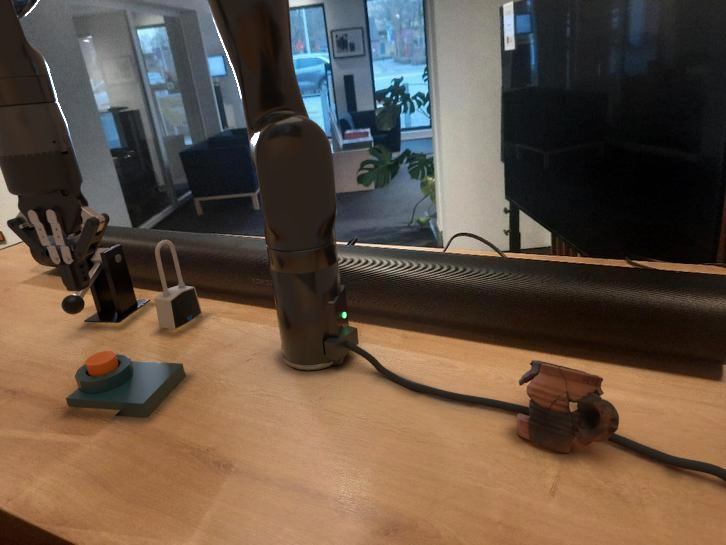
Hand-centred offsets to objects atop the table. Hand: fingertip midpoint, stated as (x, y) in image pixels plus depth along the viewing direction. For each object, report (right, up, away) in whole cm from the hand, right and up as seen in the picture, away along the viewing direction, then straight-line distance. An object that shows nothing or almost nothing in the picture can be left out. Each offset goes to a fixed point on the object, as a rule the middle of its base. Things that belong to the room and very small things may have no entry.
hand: (79, 288), depth 62 cm
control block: (+5, -14, +4) cm, 15 cm away
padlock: (+5, -7, +22) cm, 24 cm away
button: (+1, -11, +3) cm, 11 cm away
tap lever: (-10, 0, +21) cm, 24 cm away
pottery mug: (+57, -15, -9) cm, 60 cm away
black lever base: (-8, -6, +28) cm, 29 cm away
